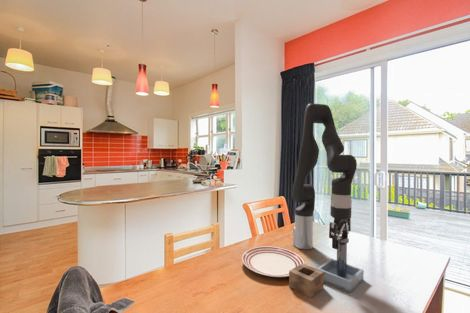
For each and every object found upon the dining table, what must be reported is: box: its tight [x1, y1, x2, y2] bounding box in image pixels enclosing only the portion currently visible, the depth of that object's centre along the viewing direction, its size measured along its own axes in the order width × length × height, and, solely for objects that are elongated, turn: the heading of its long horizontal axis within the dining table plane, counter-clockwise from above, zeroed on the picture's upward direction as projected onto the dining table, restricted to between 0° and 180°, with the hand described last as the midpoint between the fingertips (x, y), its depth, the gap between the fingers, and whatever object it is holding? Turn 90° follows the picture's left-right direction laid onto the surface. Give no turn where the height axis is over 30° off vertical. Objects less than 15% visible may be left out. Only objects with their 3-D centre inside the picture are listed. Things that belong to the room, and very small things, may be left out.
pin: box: [336, 235, 350, 278], centre depth 93 cm, size 5×5×15 cm
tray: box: [316, 258, 364, 294], centre depth 92 cm, size 13×13×4 cm
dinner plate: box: [241, 245, 306, 278], centre depth 103 cm, size 27×27×3 cm
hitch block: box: [288, 263, 325, 299], centre depth 86 cm, size 9×9×6 cm
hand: (340, 245), depth 92 cm, fingers open, 8 cm apart
